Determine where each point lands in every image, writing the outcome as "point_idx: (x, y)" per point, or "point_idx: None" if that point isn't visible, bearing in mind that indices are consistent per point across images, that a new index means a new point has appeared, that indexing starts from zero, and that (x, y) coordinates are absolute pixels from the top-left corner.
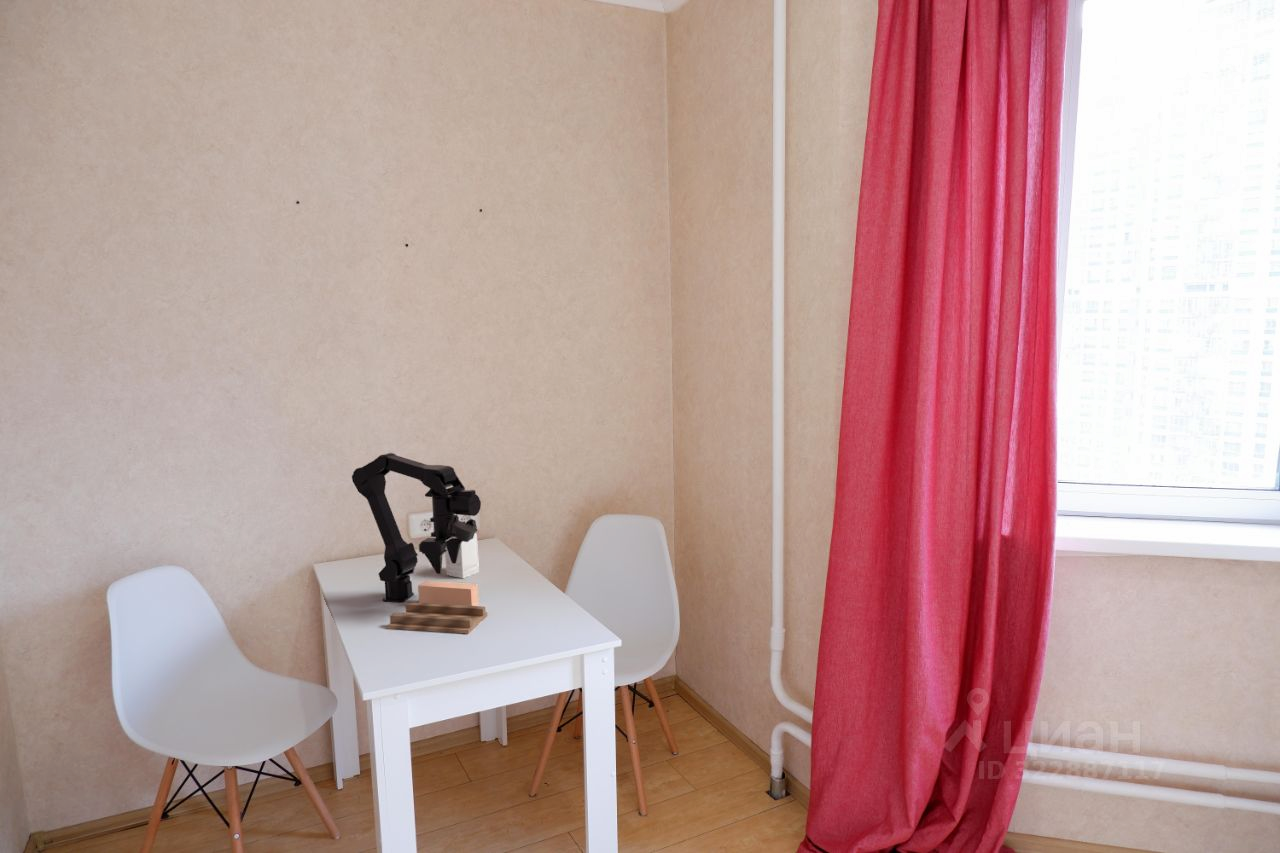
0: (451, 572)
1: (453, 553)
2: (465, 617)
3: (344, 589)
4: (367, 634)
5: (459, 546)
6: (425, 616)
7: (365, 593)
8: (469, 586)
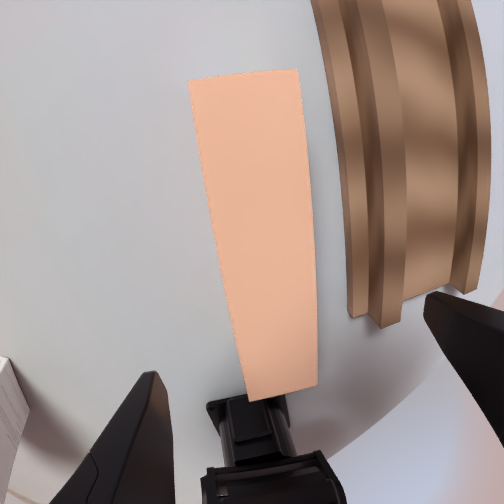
0: (20, 404)
1: (153, 457)
2: (392, 46)
3: None
4: (484, 286)
5: (78, 495)
6: (483, 173)
7: None
8: (250, 110)
